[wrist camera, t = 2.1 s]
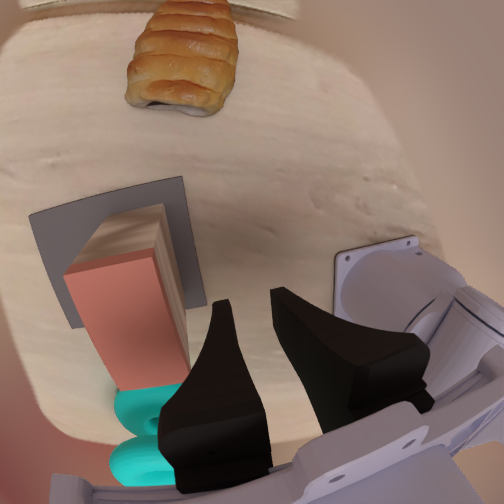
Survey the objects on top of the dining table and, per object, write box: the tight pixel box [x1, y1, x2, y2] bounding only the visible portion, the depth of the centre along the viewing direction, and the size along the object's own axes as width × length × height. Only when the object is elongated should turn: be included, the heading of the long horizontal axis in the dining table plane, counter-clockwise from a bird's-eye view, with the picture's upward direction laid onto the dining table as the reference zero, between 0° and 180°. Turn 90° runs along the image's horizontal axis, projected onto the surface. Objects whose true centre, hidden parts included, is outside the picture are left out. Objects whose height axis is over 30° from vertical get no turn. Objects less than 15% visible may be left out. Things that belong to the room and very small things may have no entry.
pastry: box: [125, 0, 239, 117], centre depth 14 cm, size 9×7×4 cm
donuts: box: [109, 383, 182, 486], centre depth 22 cm, size 10×10×10 cm
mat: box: [28, 176, 207, 329], centre depth 20 cm, size 12×10×1 cm
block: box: [63, 203, 191, 391], centre depth 16 cm, size 4×7×9 cm, turn 6°
